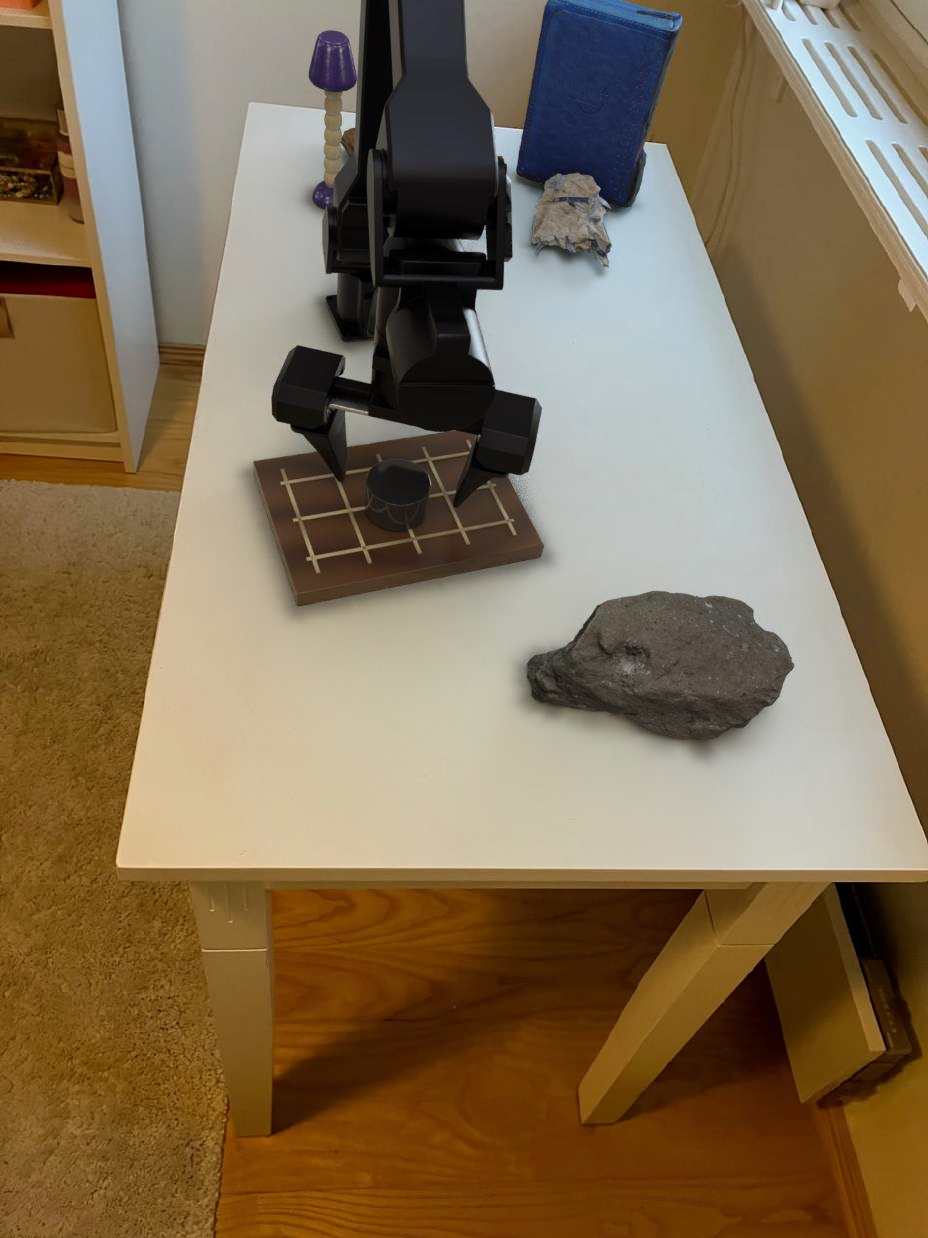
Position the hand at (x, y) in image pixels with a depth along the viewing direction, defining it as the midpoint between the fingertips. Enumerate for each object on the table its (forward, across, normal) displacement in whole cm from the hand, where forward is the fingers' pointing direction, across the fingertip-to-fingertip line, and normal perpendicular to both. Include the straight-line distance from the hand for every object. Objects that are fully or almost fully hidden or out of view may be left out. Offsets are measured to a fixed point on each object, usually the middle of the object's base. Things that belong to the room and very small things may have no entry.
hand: (399, 490), depth 76 cm
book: (+3, -9, -56) cm, 56 cm away
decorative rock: (+3, +10, -52) cm, 53 cm away
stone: (+3, -22, +12) cm, 25 cm away
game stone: (+1, 0, +1) cm, 1 cm away
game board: (+3, 0, 0) cm, 3 cm away
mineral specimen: (+3, -10, -46) cm, 48 cm away
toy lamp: (+3, +16, -42) cm, 46 cm away
